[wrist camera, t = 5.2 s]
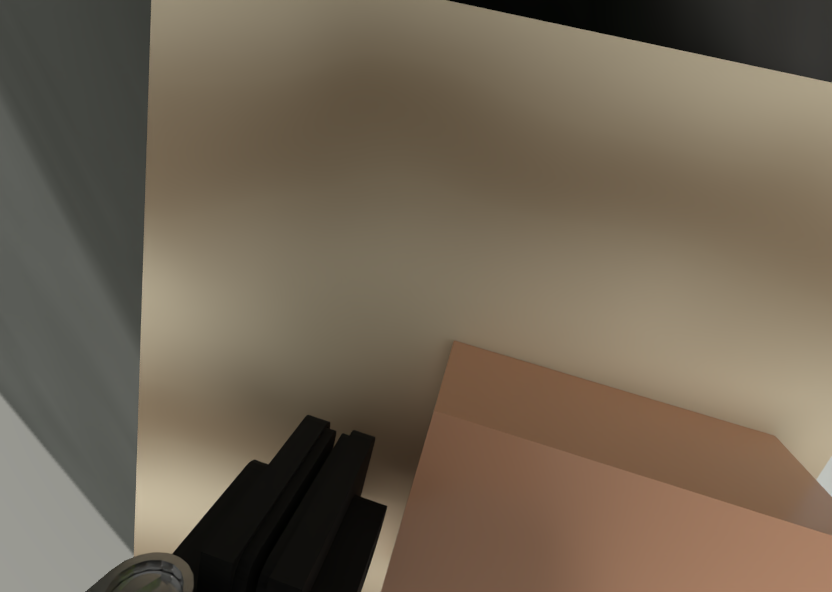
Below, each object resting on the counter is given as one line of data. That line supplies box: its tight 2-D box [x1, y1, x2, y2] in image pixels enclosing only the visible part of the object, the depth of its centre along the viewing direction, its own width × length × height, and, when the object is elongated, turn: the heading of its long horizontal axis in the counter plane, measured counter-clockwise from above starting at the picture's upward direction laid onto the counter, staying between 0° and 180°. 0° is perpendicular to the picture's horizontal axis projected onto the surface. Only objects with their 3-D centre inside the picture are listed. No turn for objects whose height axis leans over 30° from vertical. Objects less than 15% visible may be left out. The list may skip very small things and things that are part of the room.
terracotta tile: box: [381, 340, 832, 592], centre depth 10 cm, size 7×7×3 cm
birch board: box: [134, 0, 832, 592], centre depth 14 cm, size 20×16×6 cm
